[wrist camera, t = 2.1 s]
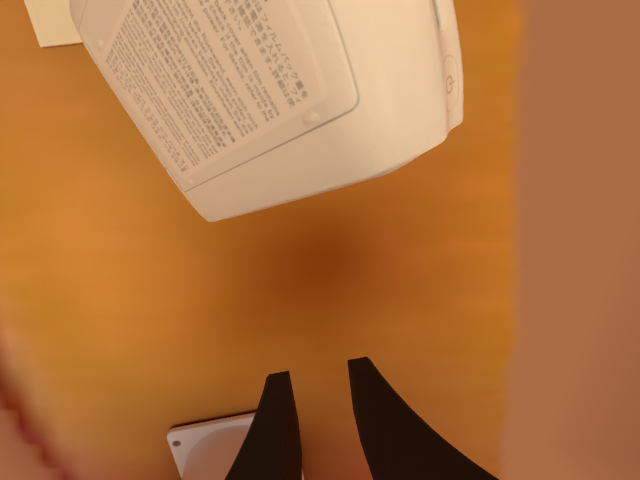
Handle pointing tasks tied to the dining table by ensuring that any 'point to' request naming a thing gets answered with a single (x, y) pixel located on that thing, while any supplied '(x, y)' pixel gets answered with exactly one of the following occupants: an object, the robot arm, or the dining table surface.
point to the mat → (52, 22)
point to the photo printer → (278, 90)
